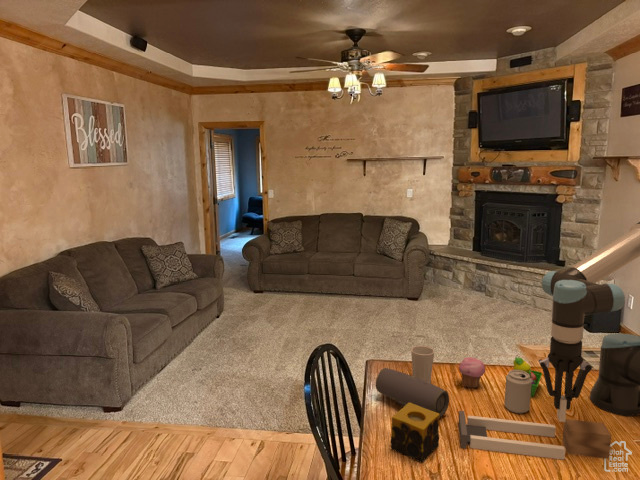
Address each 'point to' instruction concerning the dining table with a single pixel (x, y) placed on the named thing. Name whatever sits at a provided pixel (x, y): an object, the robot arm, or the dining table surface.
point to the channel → (514, 445)
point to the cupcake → (471, 371)
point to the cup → (422, 362)
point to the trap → (468, 430)
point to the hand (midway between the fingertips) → (561, 419)
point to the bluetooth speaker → (412, 391)
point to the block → (586, 438)
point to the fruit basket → (534, 375)
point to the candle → (415, 432)
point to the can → (518, 391)
